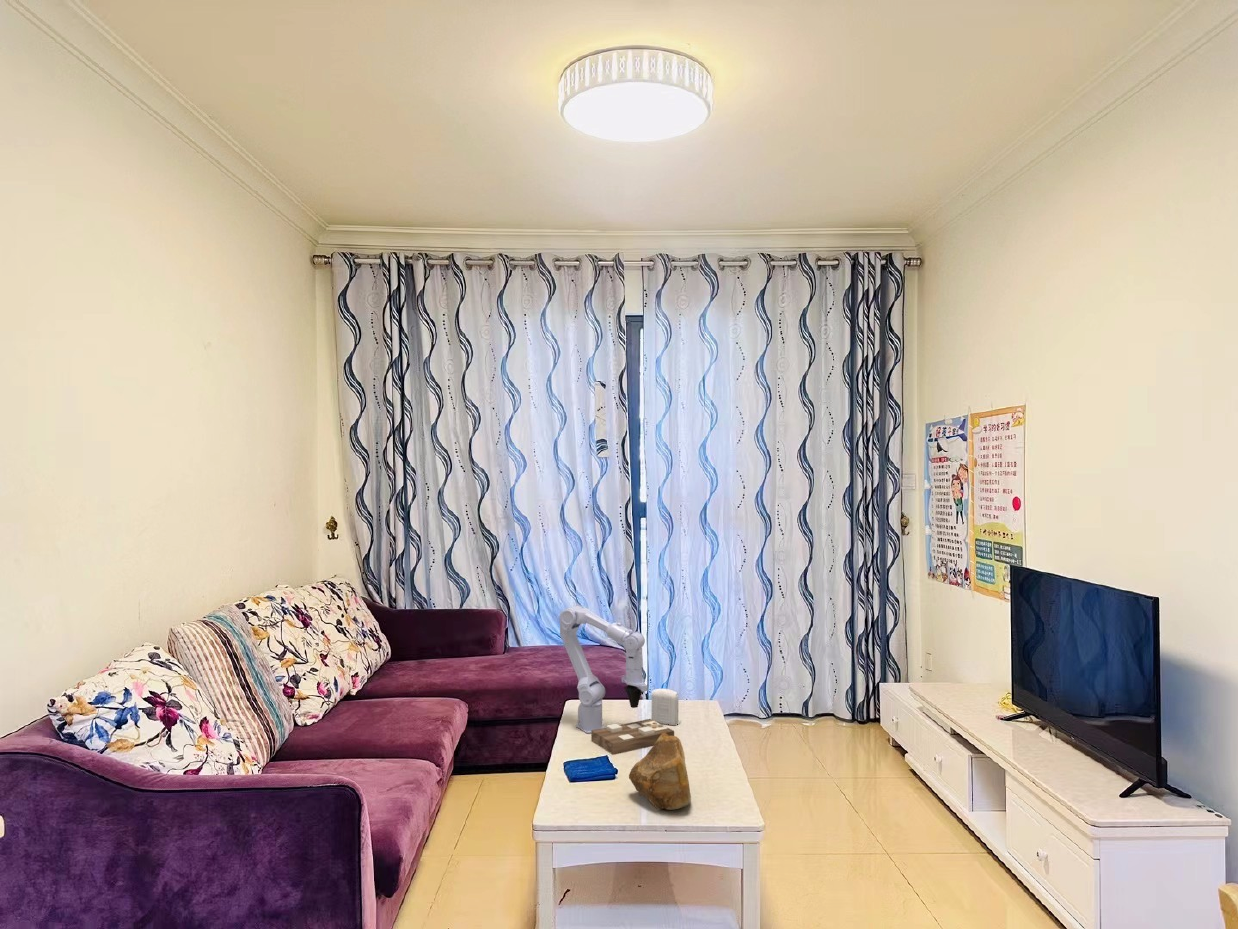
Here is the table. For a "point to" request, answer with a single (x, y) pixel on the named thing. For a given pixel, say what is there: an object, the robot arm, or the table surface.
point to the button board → (639, 741)
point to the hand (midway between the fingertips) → (634, 707)
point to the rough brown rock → (663, 774)
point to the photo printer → (665, 706)
